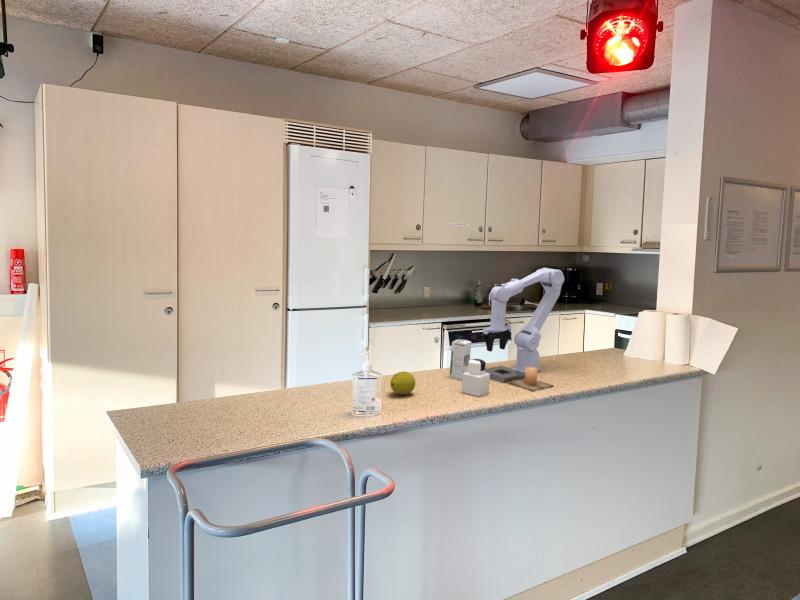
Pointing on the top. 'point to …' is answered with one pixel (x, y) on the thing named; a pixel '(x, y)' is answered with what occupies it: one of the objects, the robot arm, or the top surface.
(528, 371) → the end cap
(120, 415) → the top surface
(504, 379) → the socket block
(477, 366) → the medicine bottle
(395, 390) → the lemon
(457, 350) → the syrup box
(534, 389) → the walnut board
